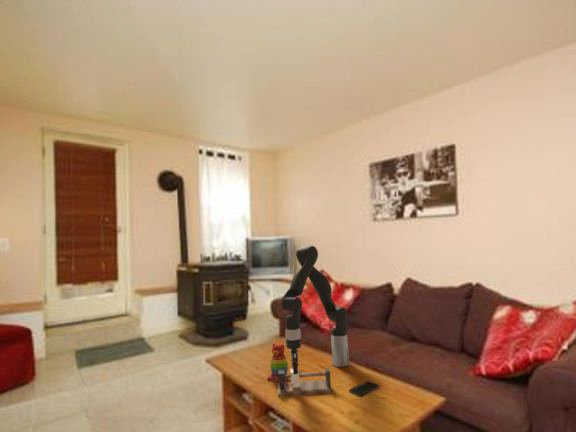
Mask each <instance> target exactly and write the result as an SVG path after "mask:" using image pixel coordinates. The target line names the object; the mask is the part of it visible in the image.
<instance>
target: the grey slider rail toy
mask: <svg viewBox="0 0 576 432" xmlns="http://www.w3.org/2000/svg"><path fill="white" fill-rule="evenodd" d="M324 376H325V379H323V380H321V379H319V380H306V381H299V382H300V383H291V381H290V382H287V381H286V382H285V378H288V379H291V373H289V374H288V373H287V375H285V373H284V370H279V371H278V377H279V382H277V395H278V398H285V397H299V396H314V395H327V394H328V395H330V394H333V388H332V385H331V371H330V368H329V367H325V368H324V371H323V372H319V371H318V372H305V373H299V378H307V377H308V378H309V377H310V378H311V377H324Z"/></svg>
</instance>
